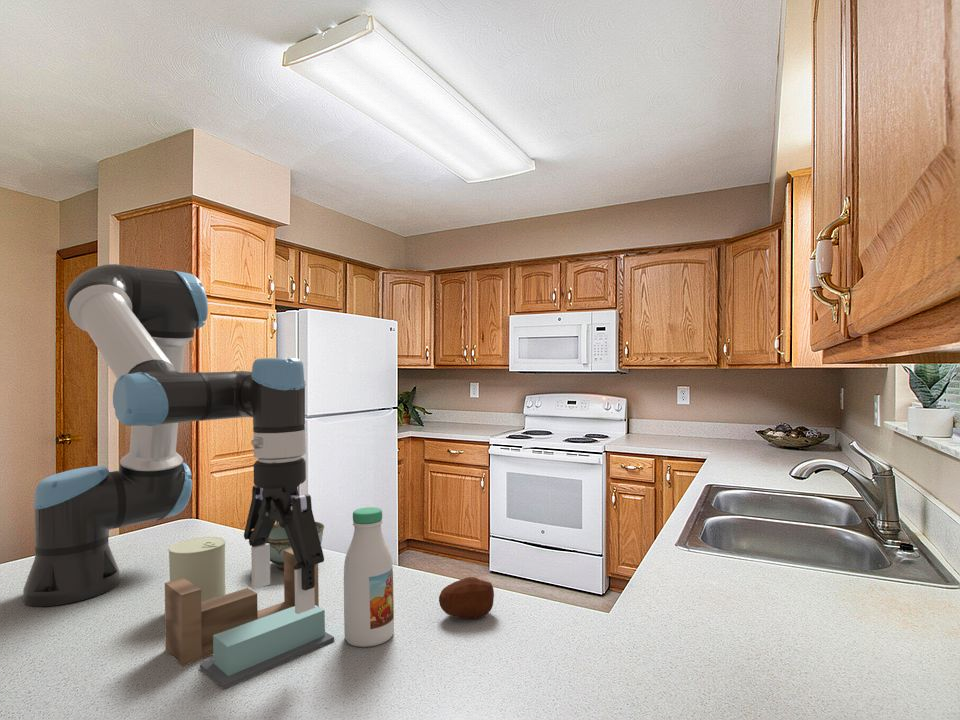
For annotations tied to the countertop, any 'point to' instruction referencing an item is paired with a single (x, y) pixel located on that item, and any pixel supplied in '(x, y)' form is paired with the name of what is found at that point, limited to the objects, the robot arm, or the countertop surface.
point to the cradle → (216, 613)
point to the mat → (249, 672)
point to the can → (200, 564)
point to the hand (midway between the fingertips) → (281, 597)
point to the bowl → (284, 543)
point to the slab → (266, 638)
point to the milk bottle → (368, 582)
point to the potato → (467, 598)
